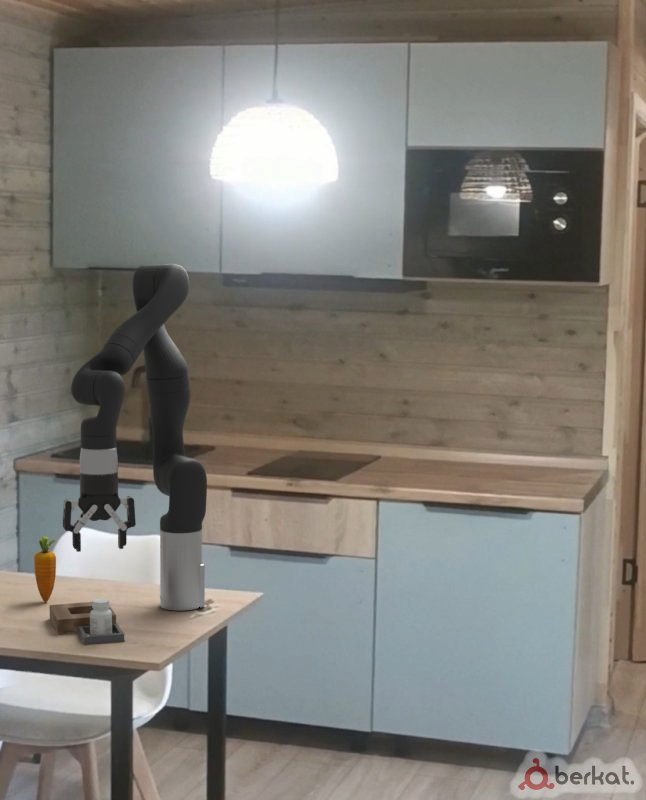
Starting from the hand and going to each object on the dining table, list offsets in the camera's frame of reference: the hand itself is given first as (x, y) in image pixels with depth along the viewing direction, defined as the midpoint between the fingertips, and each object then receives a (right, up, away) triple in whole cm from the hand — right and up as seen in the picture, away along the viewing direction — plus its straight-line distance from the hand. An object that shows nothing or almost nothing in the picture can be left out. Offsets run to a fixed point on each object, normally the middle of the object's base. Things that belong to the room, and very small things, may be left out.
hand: (99, 549), depth 267 cm
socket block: (-5, -17, +11) cm, 21 cm away
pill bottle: (0, -18, +2) cm, 18 cm away
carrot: (-17, -15, +29) cm, 37 cm away
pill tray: (0, -18, +2) cm, 18 cm away
